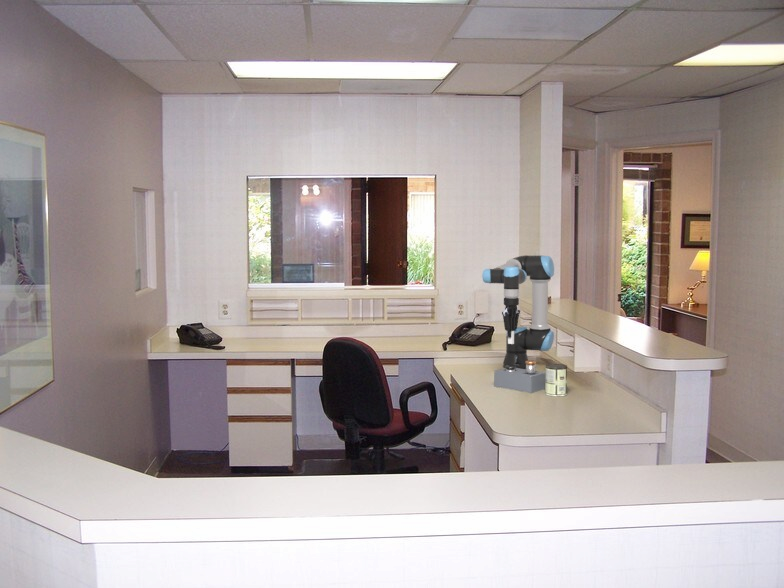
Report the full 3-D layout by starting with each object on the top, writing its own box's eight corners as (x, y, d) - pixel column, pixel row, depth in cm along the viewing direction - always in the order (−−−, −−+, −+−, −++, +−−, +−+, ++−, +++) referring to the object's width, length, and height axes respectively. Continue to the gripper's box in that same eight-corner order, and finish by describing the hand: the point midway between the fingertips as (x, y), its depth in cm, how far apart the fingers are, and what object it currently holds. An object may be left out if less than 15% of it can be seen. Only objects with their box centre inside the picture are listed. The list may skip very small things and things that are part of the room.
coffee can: (551, 390, 351) (552, 362, 350) (570, 394, 344) (571, 365, 343) (540, 394, 343) (541, 365, 342) (559, 397, 336) (560, 368, 335)
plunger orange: (529, 376, 358) (529, 360, 357) (537, 378, 354) (538, 361, 354) (523, 378, 354) (523, 361, 353) (532, 379, 351) (532, 362, 350)
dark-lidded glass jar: (509, 381, 367) (509, 364, 366) (517, 382, 363) (517, 366, 362) (503, 382, 363) (503, 366, 362) (511, 384, 359) (511, 367, 358)
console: (510, 382, 371) (510, 367, 371) (546, 388, 356) (546, 372, 356) (494, 386, 361) (494, 370, 361) (531, 393, 346) (531, 376, 346)
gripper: (512, 295, 366) (512, 341, 369) (497, 297, 357) (497, 344, 359) (524, 296, 361) (524, 342, 363) (510, 298, 352) (509, 346, 354)
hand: (510, 343), depth 361 cm, fingers closed
